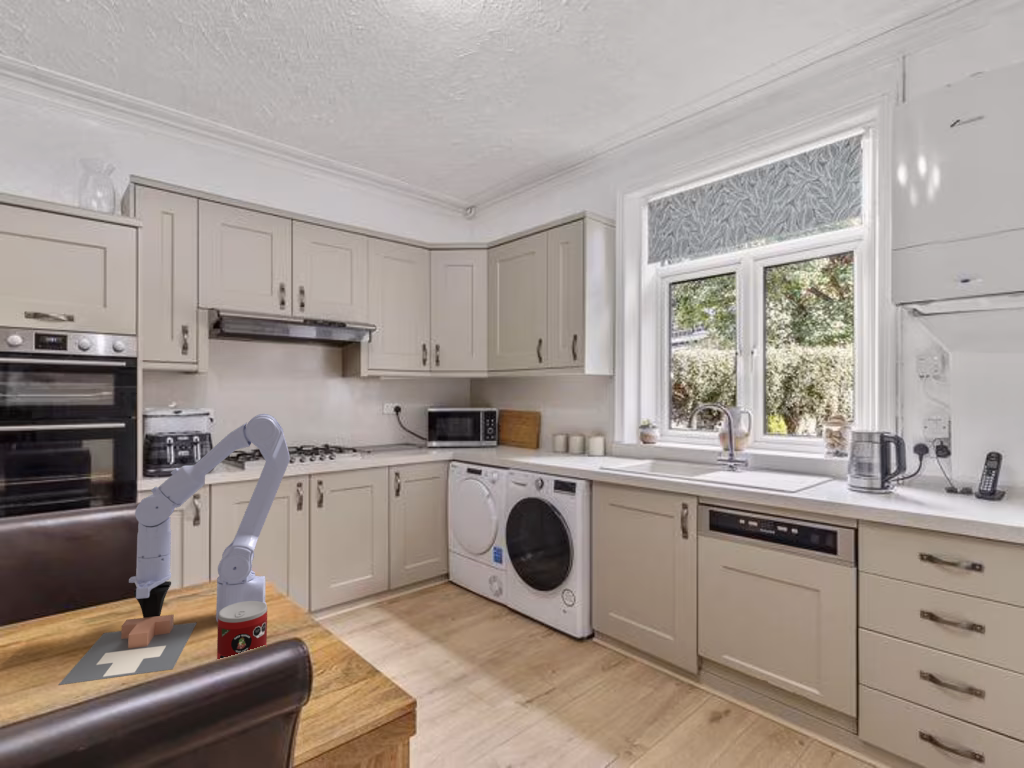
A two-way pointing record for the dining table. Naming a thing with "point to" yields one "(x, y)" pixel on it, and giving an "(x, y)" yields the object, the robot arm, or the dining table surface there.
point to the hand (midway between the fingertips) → (152, 622)
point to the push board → (129, 656)
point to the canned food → (241, 628)
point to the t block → (145, 629)
